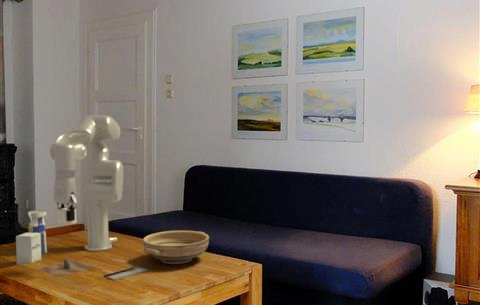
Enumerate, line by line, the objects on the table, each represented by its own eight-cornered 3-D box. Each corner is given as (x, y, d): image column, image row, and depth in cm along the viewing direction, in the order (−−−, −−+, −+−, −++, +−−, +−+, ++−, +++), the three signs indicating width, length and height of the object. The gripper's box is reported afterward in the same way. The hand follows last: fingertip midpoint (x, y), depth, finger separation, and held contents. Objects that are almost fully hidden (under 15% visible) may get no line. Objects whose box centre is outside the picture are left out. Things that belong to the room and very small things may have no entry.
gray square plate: (124, 263, 216) (124, 262, 216) (147, 270, 206) (147, 269, 206) (90, 272, 205) (90, 270, 205) (113, 280, 194) (113, 278, 194)
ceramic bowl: (173, 276, 198) (173, 251, 197) (121, 265, 213) (121, 242, 213) (227, 255, 229) (227, 233, 228) (178, 247, 244) (178, 226, 244)
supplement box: (31, 266, 214) (30, 236, 213) (16, 265, 216) (15, 235, 215) (42, 261, 221) (41, 232, 221) (26, 260, 223) (25, 232, 222)
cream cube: (56, 223, 204) (56, 209, 204) (69, 221, 208) (69, 207, 208) (63, 225, 200) (63, 211, 200) (76, 222, 204) (76, 209, 204)
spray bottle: (34, 256, 230) (32, 201, 229) (25, 253, 236) (23, 199, 234) (51, 252, 236) (49, 199, 235) (42, 249, 242) (40, 197, 240)
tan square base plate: (74, 263, 217) (74, 252, 216) (95, 271, 206) (94, 258, 206) (38, 272, 205) (37, 260, 205) (58, 280, 194) (58, 267, 194)
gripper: (45, 174, 206) (47, 218, 207) (67, 177, 195) (69, 224, 196) (63, 172, 212) (64, 215, 213) (85, 175, 200) (86, 221, 201)
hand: (66, 219), depth 204 cm, fingers closed on cream cube, 5 cm apart
